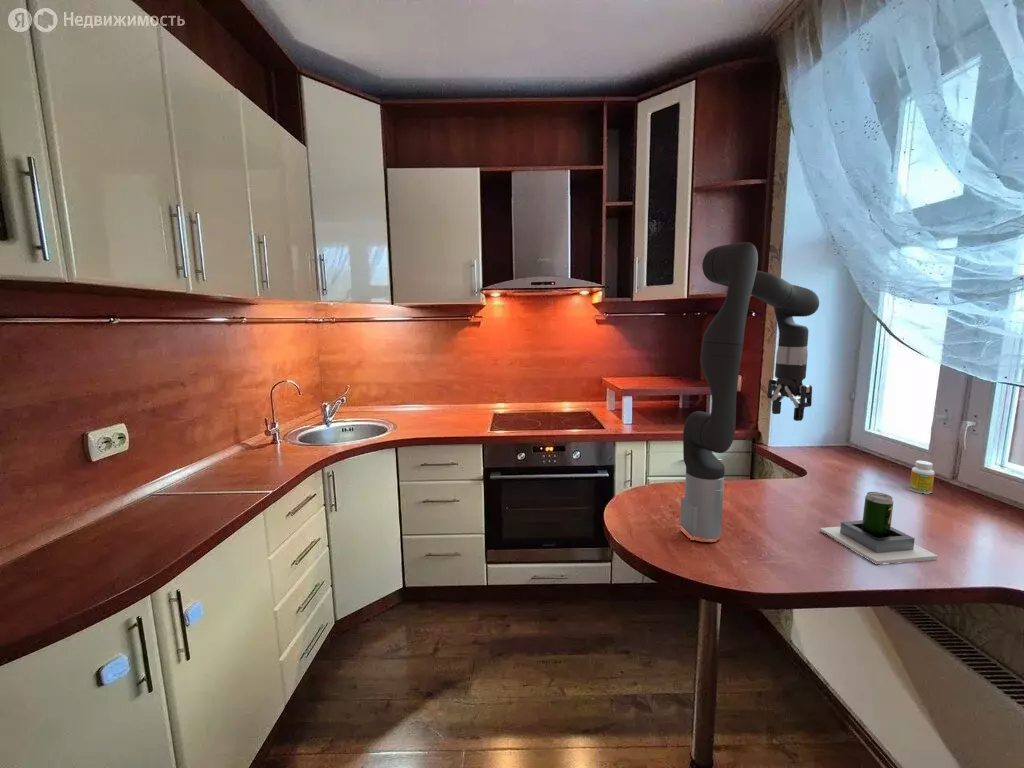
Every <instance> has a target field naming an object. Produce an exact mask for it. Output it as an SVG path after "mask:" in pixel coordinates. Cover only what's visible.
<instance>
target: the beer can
mask: <svg viewBox="0 0 1024 768" xmlns="http://www.w3.org/2000/svg"><path fill="white" fill-rule="evenodd" d="M893 499H894V498H893V497H892V496H891V495H889V494H887V493H883V492H878V491H867V492H866V495H865V496H864V504H863V505H864V506H863V513H862V514H863V515H862V520H863V522H862V530H863V531H865V532H867V533H869V534H871V535H873V536H874V537H876V538H883V537H889V535H890V527H892V526H891V524H892V517H893V507H894V500H893Z"/></svg>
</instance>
